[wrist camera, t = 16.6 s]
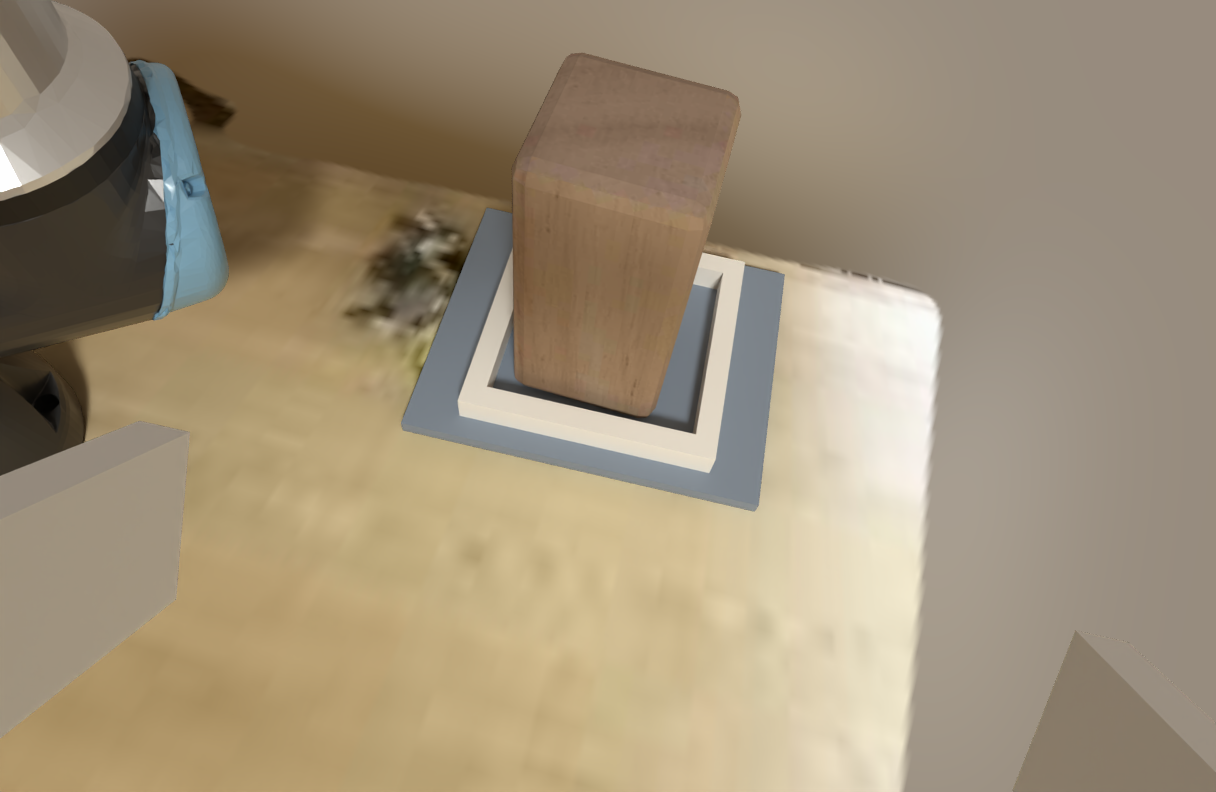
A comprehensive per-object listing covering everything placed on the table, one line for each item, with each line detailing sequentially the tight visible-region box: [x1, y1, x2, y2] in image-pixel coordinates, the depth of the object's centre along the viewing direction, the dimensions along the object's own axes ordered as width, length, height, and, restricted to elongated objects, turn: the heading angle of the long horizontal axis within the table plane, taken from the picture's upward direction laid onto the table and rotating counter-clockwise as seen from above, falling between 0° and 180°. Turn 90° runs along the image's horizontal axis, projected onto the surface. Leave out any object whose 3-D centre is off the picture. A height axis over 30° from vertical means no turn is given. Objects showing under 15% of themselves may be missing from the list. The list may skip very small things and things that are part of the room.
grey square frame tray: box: [401, 208, 785, 511], centre depth 56 cm, size 24×20×3 cm
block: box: [512, 53, 741, 418], centre depth 47 cm, size 10×10×20 cm
